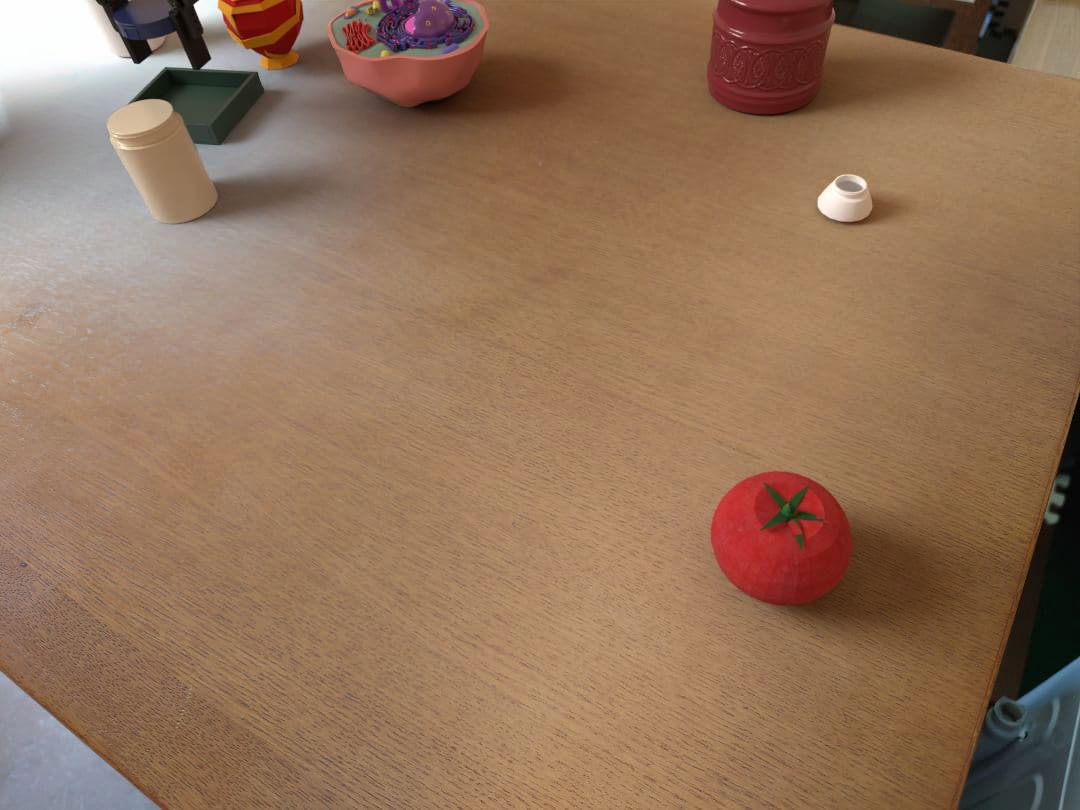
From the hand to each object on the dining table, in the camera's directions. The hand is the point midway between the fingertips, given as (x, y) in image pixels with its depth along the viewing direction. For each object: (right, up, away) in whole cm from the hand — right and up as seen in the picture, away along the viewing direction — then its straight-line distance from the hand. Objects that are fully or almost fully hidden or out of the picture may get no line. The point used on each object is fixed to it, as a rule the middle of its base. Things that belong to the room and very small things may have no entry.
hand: (172, 61), depth 91 cm
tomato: (+59, -52, -38) cm, 87 cm away
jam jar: (+4, -18, -7) cm, 20 cm away
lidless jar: (+73, -21, -15) cm, 78 cm away
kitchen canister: (+69, -3, 0) cm, 69 cm away
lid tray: (0, -4, +5) cm, 7 cm away
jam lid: (0, +4, -4) cm, 6 cm away
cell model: (+28, -2, +5) cm, 29 cm away
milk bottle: (-13, +10, +19) cm, 25 cm away
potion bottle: (+8, +6, +13) cm, 16 cm away
